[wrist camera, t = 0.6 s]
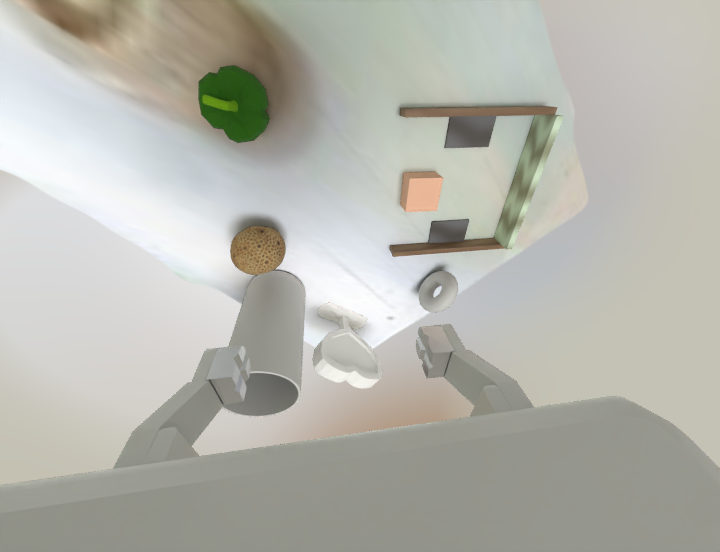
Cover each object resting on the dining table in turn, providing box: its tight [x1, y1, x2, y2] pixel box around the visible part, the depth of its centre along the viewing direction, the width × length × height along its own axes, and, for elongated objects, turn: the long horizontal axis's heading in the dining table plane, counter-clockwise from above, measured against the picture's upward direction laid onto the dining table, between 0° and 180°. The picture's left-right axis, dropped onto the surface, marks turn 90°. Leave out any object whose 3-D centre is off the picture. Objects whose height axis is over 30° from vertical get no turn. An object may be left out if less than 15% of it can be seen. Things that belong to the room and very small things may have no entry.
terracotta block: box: [400, 172, 443, 212], centre depth 49 cm, size 6×6×4 cm
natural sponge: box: [230, 226, 285, 275], centre depth 48 cm, size 9×9×10 cm
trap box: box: [390, 106, 564, 257], centre depth 49 cm, size 26×25×5 cm
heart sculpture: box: [313, 302, 383, 388], centre depth 60 cm, size 16×5×18 cm, turn 55°
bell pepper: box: [198, 66, 270, 143], centre depth 35 cm, size 8×8×10 cm
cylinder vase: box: [222, 271, 305, 417], centre depth 50 cm, size 12×12×25 cm
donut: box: [419, 271, 458, 313], centre depth 60 cm, size 10×4×10 cm, turn 142°
